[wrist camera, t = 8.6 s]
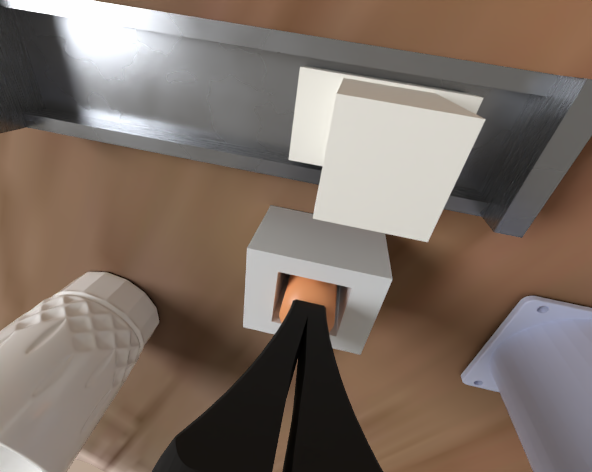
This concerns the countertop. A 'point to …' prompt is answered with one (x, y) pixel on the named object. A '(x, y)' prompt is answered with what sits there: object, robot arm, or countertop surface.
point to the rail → (268, 97)
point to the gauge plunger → (310, 296)
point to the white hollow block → (317, 272)
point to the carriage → (382, 148)
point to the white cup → (68, 368)
